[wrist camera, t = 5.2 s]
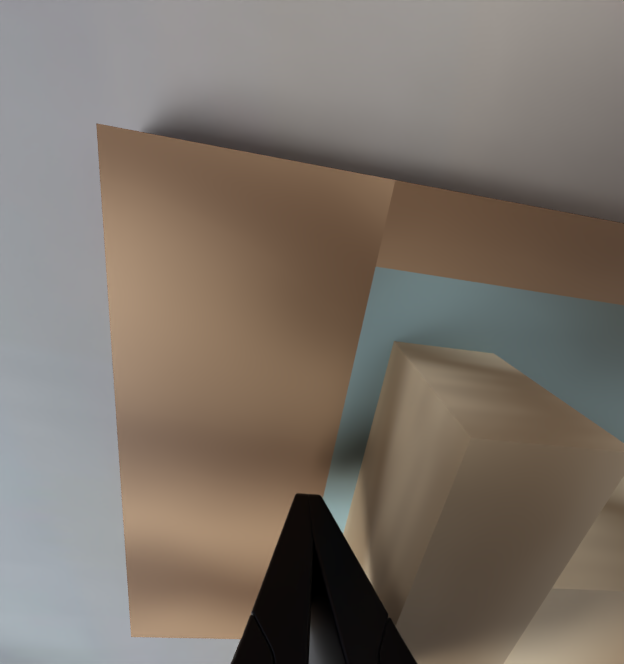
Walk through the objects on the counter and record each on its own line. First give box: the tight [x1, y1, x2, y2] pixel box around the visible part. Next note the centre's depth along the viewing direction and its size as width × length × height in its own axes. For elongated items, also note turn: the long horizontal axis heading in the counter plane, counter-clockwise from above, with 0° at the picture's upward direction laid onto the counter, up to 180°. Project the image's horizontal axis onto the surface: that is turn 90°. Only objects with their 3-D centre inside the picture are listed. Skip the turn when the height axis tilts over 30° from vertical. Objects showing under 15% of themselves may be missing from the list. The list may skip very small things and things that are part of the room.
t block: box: [343, 341, 624, 664], centre depth 9 cm, size 10×10×4 cm
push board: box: [97, 124, 624, 639], centre depth 11 cm, size 18×18×2 cm
